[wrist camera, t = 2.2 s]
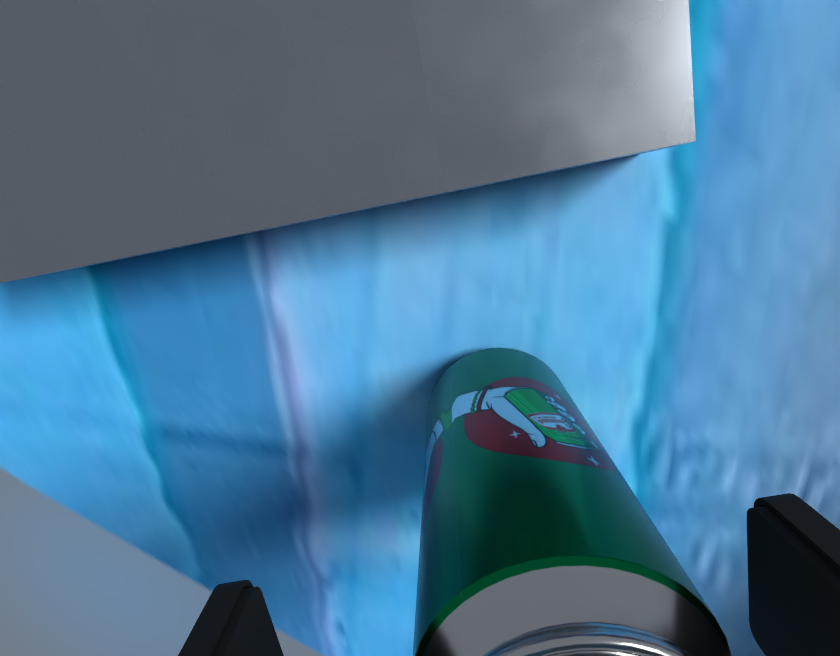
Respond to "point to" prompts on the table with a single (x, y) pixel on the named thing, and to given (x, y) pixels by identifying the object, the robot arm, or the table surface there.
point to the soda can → (539, 530)
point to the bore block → (307, 110)
